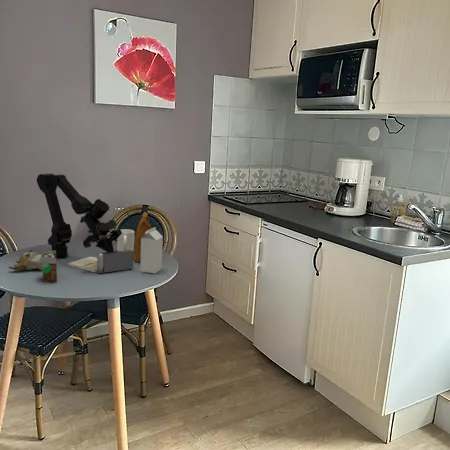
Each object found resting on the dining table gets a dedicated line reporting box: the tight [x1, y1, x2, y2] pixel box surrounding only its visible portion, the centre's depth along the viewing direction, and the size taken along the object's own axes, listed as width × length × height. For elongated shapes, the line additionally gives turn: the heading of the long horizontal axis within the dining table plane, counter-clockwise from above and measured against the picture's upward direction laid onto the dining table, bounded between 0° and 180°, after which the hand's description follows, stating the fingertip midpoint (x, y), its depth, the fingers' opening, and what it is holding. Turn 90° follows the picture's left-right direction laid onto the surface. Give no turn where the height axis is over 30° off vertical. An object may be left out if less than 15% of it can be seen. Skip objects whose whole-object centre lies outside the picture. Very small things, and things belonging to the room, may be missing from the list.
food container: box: [40, 250, 58, 283], centre depth 182 cm, size 12×6×10 cm, turn 21°
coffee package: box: [133, 211, 153, 263], centre depth 215 cm, size 10×12×22 cm
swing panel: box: [96, 250, 134, 274], centre depth 196 cm, size 15×3×8 cm, turn 124°
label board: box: [68, 256, 97, 273], centre depth 203 cm, size 15×13×2 cm
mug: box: [116, 228, 135, 251], centre depth 226 cm, size 12×8×10 cm
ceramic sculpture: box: [8, 249, 43, 271], centre depth 193 cm, size 11×9×15 cm
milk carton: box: [139, 226, 164, 274], centre depth 199 cm, size 7×7×19 cm
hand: (113, 253), depth 197 cm, fingers closed
